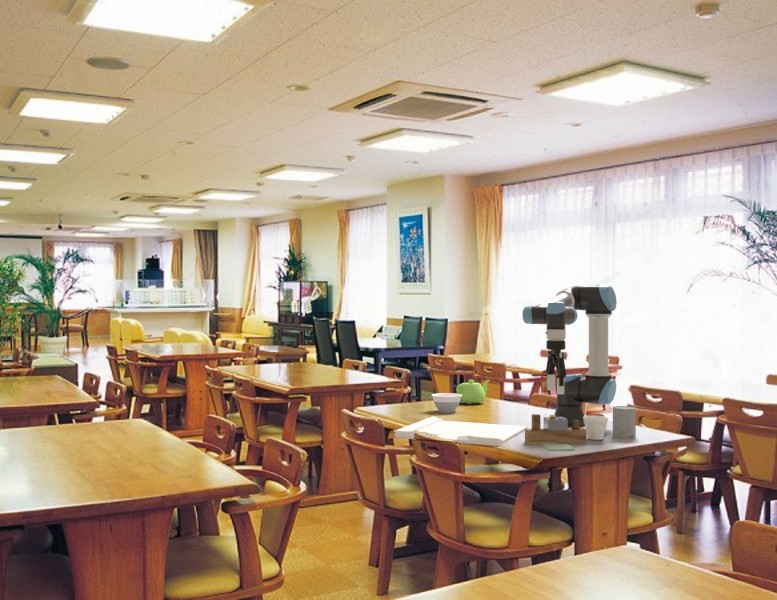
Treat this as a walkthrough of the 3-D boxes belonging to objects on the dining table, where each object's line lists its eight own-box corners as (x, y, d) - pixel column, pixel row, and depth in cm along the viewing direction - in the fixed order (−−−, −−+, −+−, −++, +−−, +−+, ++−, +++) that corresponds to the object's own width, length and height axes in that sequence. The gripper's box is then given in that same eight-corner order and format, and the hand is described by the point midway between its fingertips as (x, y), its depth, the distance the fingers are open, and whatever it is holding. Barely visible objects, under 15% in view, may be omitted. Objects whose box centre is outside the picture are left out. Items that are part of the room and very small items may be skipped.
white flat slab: (527, 430, 357) (527, 422, 357) (499, 447, 316) (499, 438, 315) (433, 423, 375) (433, 416, 375) (395, 439, 334) (395, 430, 334)
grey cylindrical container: (637, 438, 332) (637, 409, 332) (613, 438, 334) (613, 408, 334) (634, 435, 342) (634, 406, 341) (611, 434, 343) (611, 405, 343)
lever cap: (543, 427, 326) (543, 414, 326) (562, 427, 326) (562, 413, 326) (548, 430, 319) (548, 416, 319) (567, 430, 319) (567, 416, 319)
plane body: (524, 442, 324) (524, 413, 324) (582, 441, 326) (582, 413, 326) (527, 444, 319) (527, 415, 319) (586, 443, 321) (586, 415, 321)
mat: (542, 445, 316) (542, 444, 316) (567, 445, 317) (567, 443, 317) (549, 450, 306) (549, 449, 306) (574, 450, 307) (574, 448, 307)
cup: (607, 442, 325) (607, 419, 325) (582, 440, 328) (582, 418, 328) (608, 437, 334) (608, 415, 334) (584, 436, 337) (584, 414, 337)
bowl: (468, 411, 411) (468, 395, 411) (446, 414, 401) (446, 397, 401) (447, 408, 423) (447, 392, 423) (425, 411, 413) (425, 394, 413)
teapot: (483, 400, 455) (483, 377, 455) (497, 403, 442) (497, 380, 442) (449, 402, 446) (449, 379, 446) (462, 406, 433) (462, 381, 433)
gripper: (538, 338, 335) (538, 388, 335) (555, 341, 310) (555, 396, 310) (556, 338, 335) (555, 388, 335) (574, 341, 310) (574, 395, 310)
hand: (555, 392), depth 322 cm, fingers open, 13 cm apart
